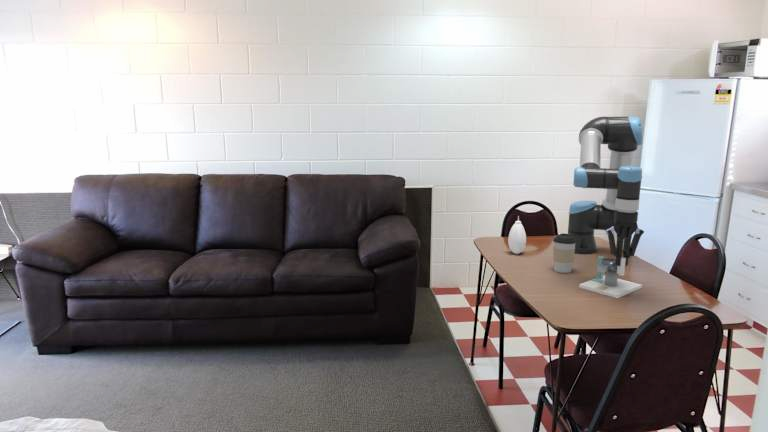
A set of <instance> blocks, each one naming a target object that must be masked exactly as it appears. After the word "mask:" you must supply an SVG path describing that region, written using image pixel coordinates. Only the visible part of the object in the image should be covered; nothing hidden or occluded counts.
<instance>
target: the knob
mask: <svg viewBox="0 0 768 432" xmlns="http://www.w3.org/2000/svg"><path fill="white" fill-rule="evenodd" d="M615 262H616V258H611V257H610V258H609V257H608V258H604V259H602V264H601V266H598V265H597V266H598V271H599V272H603V273H605V271H609V272H617V265H616V264H615Z"/></svg>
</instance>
